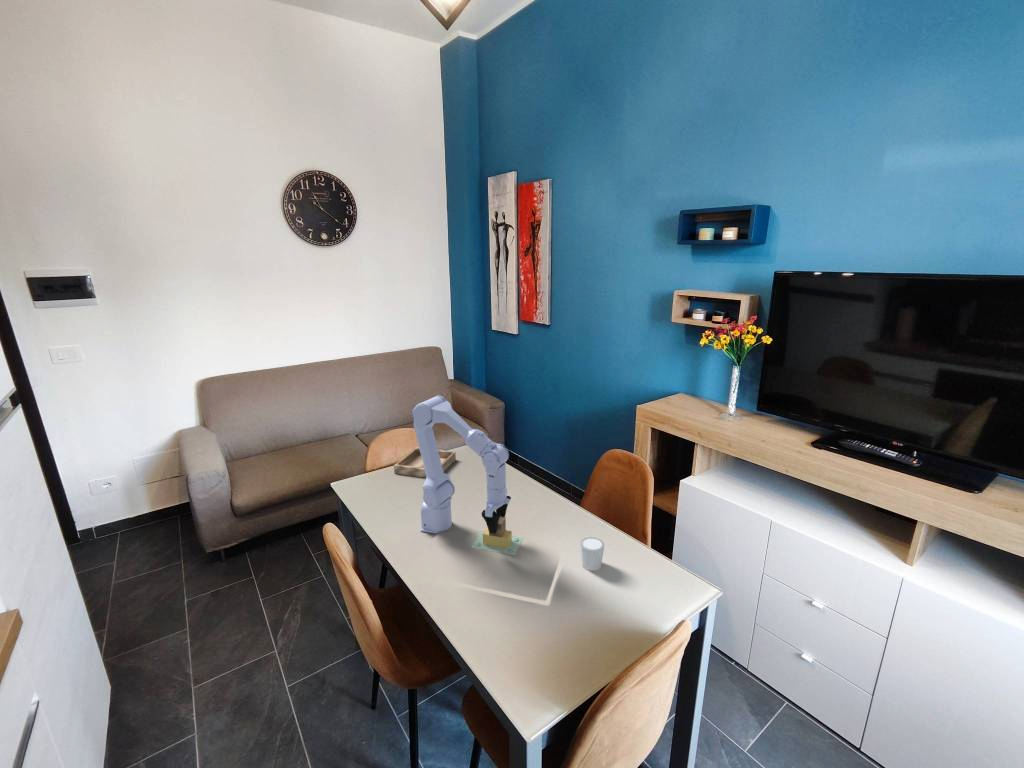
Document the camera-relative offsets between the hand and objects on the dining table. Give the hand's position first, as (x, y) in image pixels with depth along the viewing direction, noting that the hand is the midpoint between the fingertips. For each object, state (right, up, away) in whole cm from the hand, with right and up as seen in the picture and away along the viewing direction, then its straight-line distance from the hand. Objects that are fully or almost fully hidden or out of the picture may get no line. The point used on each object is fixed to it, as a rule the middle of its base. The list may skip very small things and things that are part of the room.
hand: (497, 525), depth 144 cm
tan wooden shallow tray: (-32, +8, +56) cm, 65 cm away
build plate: (0, -7, +2) cm, 7 cm away
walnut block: (0, -2, +1) cm, 2 cm away
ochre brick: (0, -6, +2) cm, 6 cm away
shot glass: (+27, -9, -7) cm, 30 cm away
